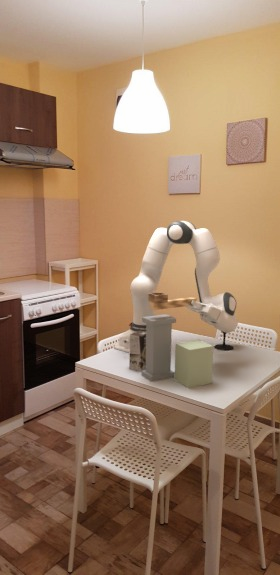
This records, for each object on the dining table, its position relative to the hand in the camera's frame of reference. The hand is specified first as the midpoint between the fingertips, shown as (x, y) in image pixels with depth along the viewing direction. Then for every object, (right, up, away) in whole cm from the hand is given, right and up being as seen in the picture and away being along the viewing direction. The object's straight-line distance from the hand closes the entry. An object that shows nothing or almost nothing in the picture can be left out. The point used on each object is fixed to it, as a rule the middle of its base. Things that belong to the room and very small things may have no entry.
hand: (188, 300), depth 195 cm
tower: (-14, -33, -2) cm, 35 cm away
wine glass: (+23, -26, +40) cm, 53 cm away
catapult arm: (-7, -2, -3) cm, 8 cm away
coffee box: (-21, -31, +9) cm, 39 cm away
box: (+1, -34, -7) cm, 34 cm away
